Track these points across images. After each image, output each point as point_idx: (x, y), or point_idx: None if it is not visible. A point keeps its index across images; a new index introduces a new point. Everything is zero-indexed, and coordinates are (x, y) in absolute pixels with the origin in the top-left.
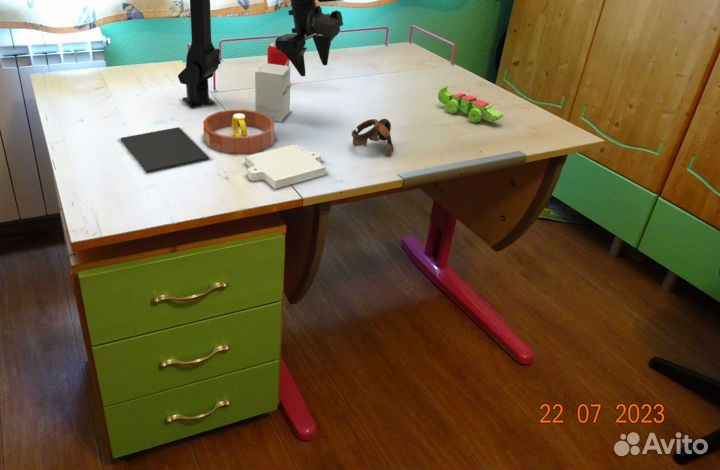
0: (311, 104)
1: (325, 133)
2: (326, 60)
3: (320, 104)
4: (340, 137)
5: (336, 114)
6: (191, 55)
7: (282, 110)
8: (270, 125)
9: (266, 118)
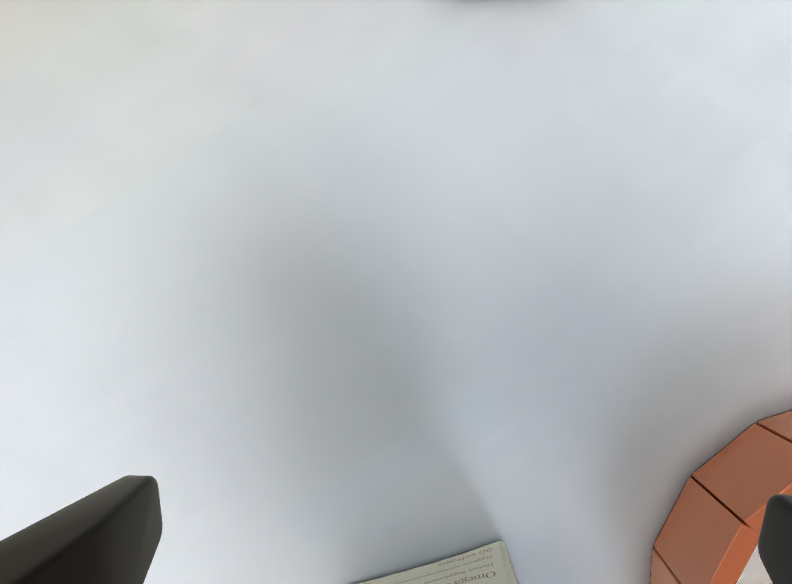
0: None
1: (464, 234)
2: (109, 512)
3: None
4: (454, 127)
5: (173, 339)
6: None
7: (500, 581)
8: None
9: (732, 577)
